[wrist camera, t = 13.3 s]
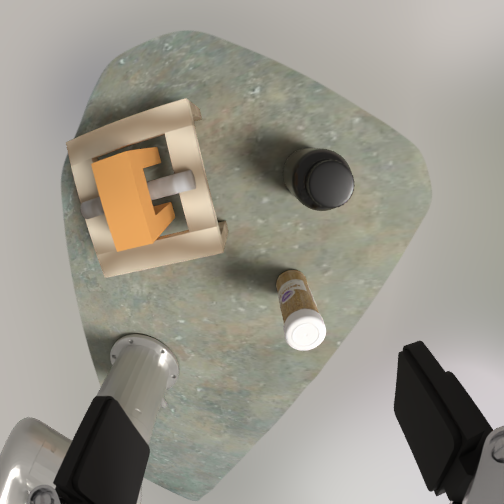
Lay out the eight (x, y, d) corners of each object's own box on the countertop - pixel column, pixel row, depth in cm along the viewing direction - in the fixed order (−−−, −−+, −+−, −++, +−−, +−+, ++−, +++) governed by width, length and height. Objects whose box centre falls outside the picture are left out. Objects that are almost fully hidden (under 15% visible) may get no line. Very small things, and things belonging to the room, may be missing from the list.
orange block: (175, 217, 38) (153, 243, 28) (146, 224, 38) (117, 251, 29) (157, 147, 35) (127, 150, 25) (127, 156, 35) (90, 163, 26)
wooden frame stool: (228, 231, 42) (221, 259, 32) (129, 253, 43) (98, 284, 33) (199, 108, 37) (182, 95, 27) (99, 141, 38) (56, 142, 28)
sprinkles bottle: (286, 263, 44) (300, 310, 31) (312, 277, 45) (335, 327, 32) (269, 289, 45) (277, 342, 33) (295, 302, 46) (311, 357, 33)
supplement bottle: (280, 197, 41) (292, 216, 30) (283, 146, 39) (297, 144, 27) (330, 200, 41) (359, 221, 30) (334, 150, 39) (367, 152, 28)
